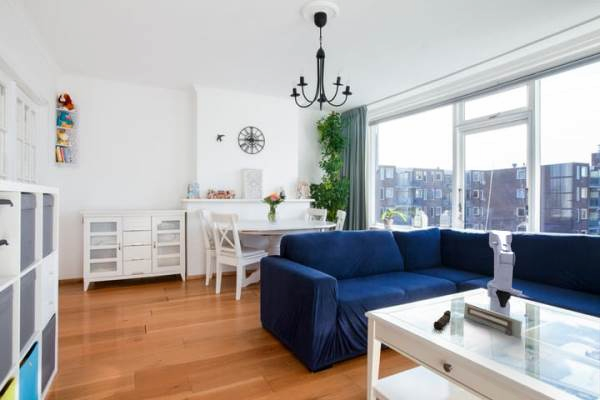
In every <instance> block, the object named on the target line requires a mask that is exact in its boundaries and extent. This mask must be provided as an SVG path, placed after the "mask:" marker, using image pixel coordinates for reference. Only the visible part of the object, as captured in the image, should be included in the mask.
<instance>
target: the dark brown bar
mask: <svg viewBox="0 0 600 400" xmlns="http://www.w3.org/2000/svg"><path fill="white" fill-rule="evenodd" d="M451 314H452V313H451V310H445V311H444V312H443V315H442V316H440V317H439V319H437V321H434V322H433V329H434V330H437V331H443V330H444V327H445V326H446V325H447V324H448V323H450V321H451Z"/></svg>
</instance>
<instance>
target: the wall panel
mask: <svg viewBox="0 0 600 400" xmlns="http://www.w3.org/2000/svg"><path fill="white" fill-rule="evenodd" d="M468 306H471V307H474V308H477V309H480V310H483V311H486V312H489V313H492V314H495V315H498V316H500V317H503V318H506V319H509V320H512V325H511V330H509V329H507V328H504V327H501V326H499V325H496V324H493V323H490V322H488V321H485V320H482V319H479V318H477V317H474V316H471V315H469V314H467V310H468ZM463 309H464V310H463V316H464V318H468V319H471V320H473V321H476V322H478V323H481V324H483V325H486V326H489V327H491V328H495V329H497V330H500V331H501V332H504V334H505V335H507V336H515V337H519V338H521V337H522V324H523V320H520V319H517V318H515V317H512V316H511V317H509V316H506V315H503V314H500V313H497V312H494V311H491V310H490V309H488V308H485V307H482V306H480V305H479V306H478V305H476V304H473V303H470V302H467V301H465V302H464V308H463Z"/></svg>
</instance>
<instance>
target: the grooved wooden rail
mask: <svg viewBox="0 0 600 400" xmlns="http://www.w3.org/2000/svg"><path fill="white" fill-rule="evenodd" d="M467 314H469V315H471V316H474V317H477V318H479V319H482V320H485V321H488V322H490V323H493V324H496V325H499V326H501V327H504V328H507V329H509V330H511V325H512V320H509V319H506V318H503V317H500V316H498V315H495V314H492V313H489V312H486V311H483V310H480V309H477V308H474V307H471V306H468V310H467Z"/></svg>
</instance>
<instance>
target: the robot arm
mask: <svg viewBox="0 0 600 400" xmlns="http://www.w3.org/2000/svg"><path fill="white" fill-rule="evenodd" d="M488 234H489V237H488V240H489V241H488V244H489V247H490V248H492V249H493V253H494V255H493V257H494V258H493V259H494V261H493V262H494V263H493V264H494V265H493V268H494V269H493V270H494V271H493V274H494V275H493V276H494V277H493V279H492V280H489V281H488V282H487V284H486V287H487V297H489V299H490V300H489V301H490V302H489V310H491V311H494V312H497V313H500V314H503V315H506V316H509V317H512V316H510V313H511V303H510V300H511V299H512V296H513V295H514V296H517V297H522V296H523V291H522V290H518V289H515V288H513V287H512V286H513V271H514V270H513V269H514V266H515V262H516V255H515V252H513V250H512V247H511V245H512V244H511V243H512V241H513V233H512V231H507V230H506V231H505V230H494V229H493V230H492V229H490V231H489V233H488Z"/></svg>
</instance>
